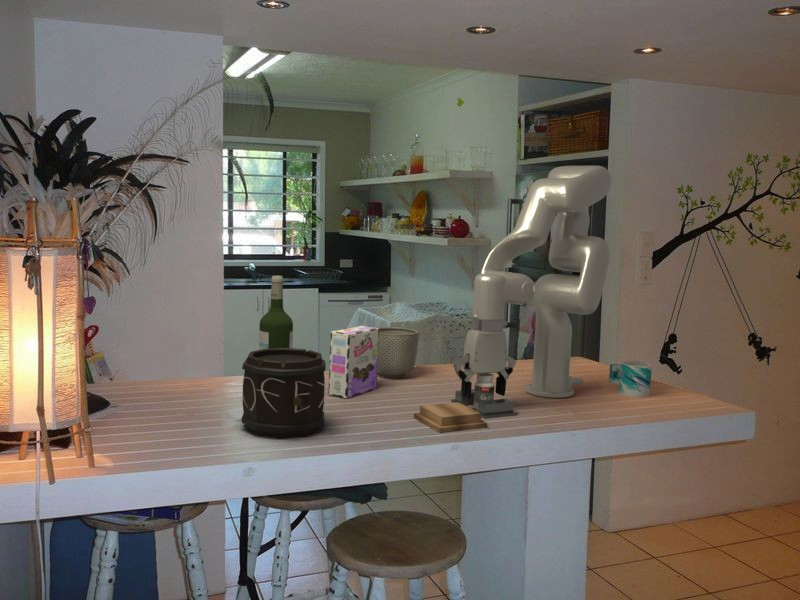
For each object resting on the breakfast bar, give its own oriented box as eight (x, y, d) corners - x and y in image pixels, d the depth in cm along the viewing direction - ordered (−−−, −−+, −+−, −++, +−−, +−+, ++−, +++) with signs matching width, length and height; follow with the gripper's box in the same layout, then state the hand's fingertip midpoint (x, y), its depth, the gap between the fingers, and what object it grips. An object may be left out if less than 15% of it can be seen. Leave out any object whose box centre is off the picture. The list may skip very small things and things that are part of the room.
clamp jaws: (481, 399, 190) (482, 387, 189) (517, 415, 176) (517, 402, 176) (451, 401, 186) (451, 390, 185) (484, 418, 172) (485, 405, 172)
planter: (372, 369, 220) (374, 325, 218) (419, 372, 218) (421, 328, 216) (364, 379, 206) (365, 333, 204) (414, 383, 204) (416, 336, 203)
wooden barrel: (250, 444, 147) (252, 365, 145) (232, 419, 163) (234, 348, 161) (337, 436, 154) (340, 361, 152) (312, 413, 170) (314, 345, 168)
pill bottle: (480, 411, 178) (482, 377, 177) (469, 406, 182) (471, 373, 181) (497, 410, 180) (498, 376, 179) (485, 405, 184) (487, 371, 183)
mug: (634, 398, 197) (637, 367, 196) (601, 388, 207) (603, 358, 206) (656, 395, 201) (658, 365, 200) (622, 386, 211) (624, 356, 210)
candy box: (346, 399, 184) (348, 333, 182) (327, 395, 187) (329, 330, 185) (377, 389, 196) (380, 327, 194) (359, 385, 199) (361, 324, 197)
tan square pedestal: (459, 413, 176) (459, 400, 175) (486, 427, 165) (487, 414, 164) (413, 417, 170) (414, 404, 170) (439, 432, 160) (440, 419, 159)
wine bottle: (297, 400, 181) (300, 277, 178) (271, 405, 176) (274, 278, 172) (277, 393, 187) (280, 274, 183) (251, 398, 181) (253, 275, 177)
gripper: (508, 322, 186) (504, 390, 187) (448, 324, 178) (444, 394, 180) (526, 327, 179) (521, 397, 181) (464, 328, 171) (460, 402, 173)
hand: (483, 395), depth 180 cm, fingers open, 9 cm apart
